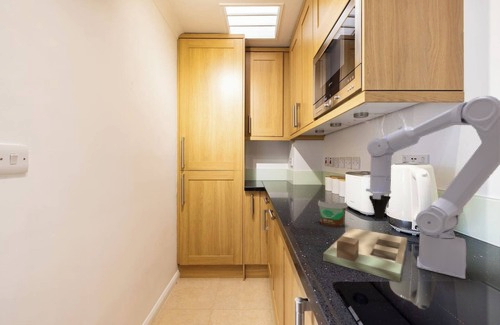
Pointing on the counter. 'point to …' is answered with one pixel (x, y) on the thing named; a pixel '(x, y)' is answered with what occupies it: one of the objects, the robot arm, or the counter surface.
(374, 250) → the board
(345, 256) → the block
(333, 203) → the food container
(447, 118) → the robot arm
